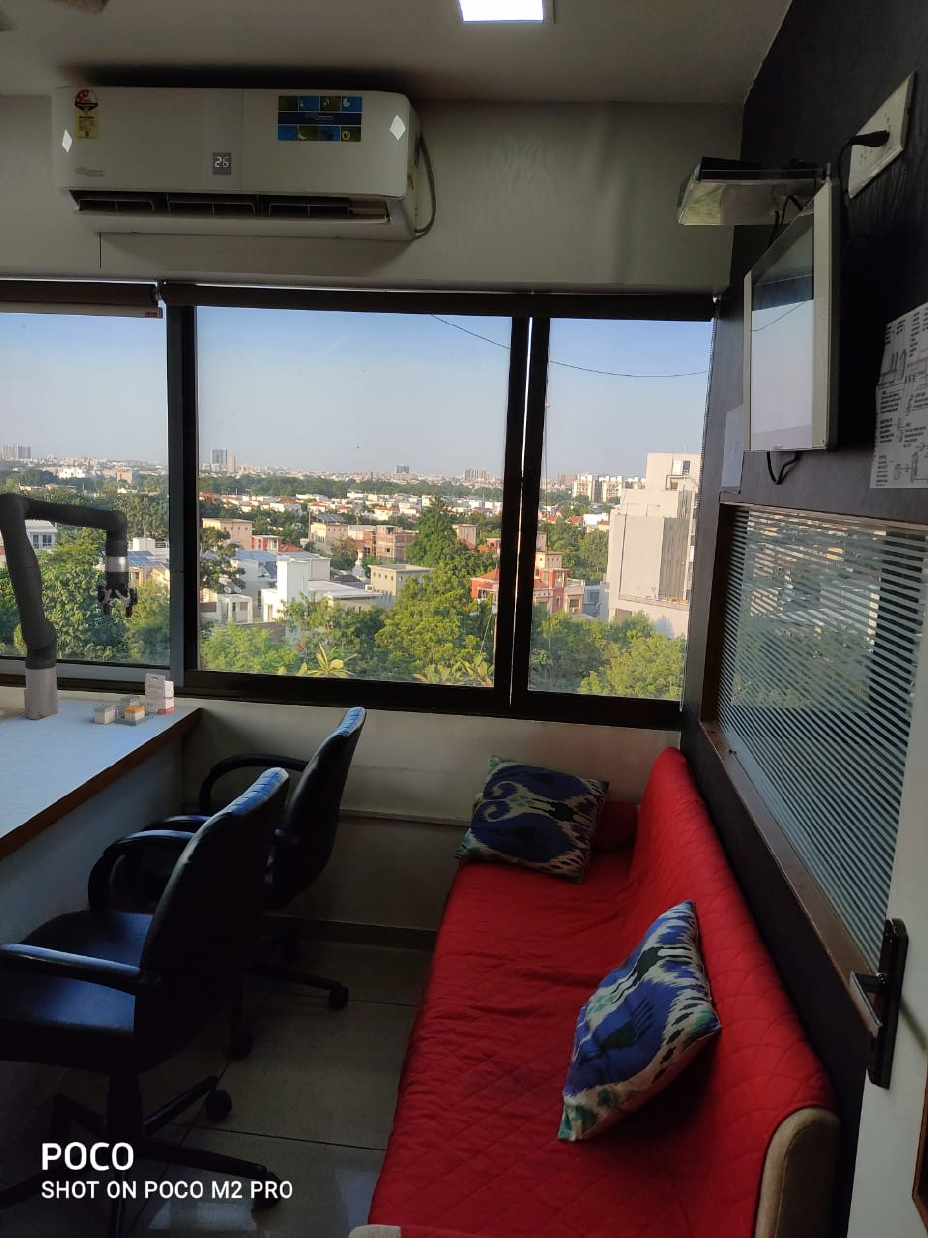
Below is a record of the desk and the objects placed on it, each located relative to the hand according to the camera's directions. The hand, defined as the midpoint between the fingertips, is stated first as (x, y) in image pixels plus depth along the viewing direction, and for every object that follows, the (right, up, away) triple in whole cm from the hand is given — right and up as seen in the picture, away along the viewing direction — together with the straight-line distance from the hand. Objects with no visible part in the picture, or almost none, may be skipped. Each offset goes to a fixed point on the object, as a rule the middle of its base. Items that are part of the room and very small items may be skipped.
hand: (118, 616), depth 285 cm
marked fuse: (+8, -36, -5) cm, 37 cm away
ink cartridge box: (+12, -34, +6) cm, 37 cm away
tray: (+8, -36, -5) cm, 37 cm away
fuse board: (0, -35, -1) cm, 35 cm away
